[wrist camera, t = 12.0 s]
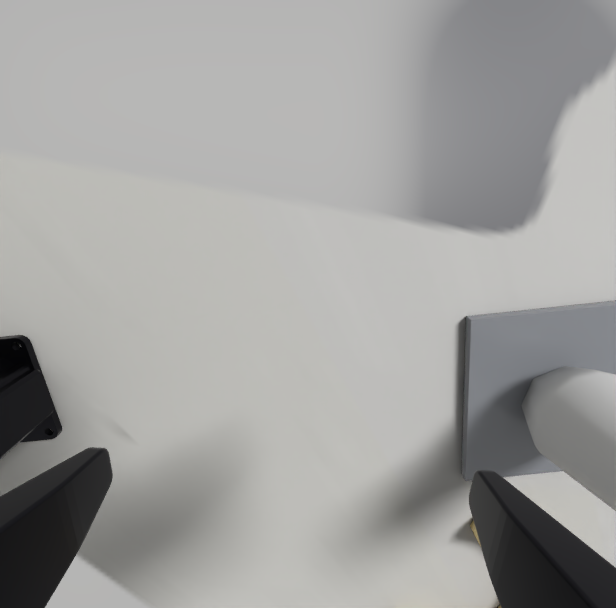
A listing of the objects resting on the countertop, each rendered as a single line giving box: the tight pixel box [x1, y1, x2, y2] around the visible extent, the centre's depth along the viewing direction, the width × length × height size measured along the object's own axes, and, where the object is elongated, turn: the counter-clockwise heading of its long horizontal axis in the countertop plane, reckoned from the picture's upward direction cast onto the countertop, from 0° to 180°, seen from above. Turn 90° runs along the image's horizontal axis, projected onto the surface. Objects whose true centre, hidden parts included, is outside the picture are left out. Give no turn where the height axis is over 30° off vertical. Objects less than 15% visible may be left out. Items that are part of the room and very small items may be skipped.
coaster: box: [461, 301, 616, 481], centre depth 21 cm, size 11×11×1 cm
